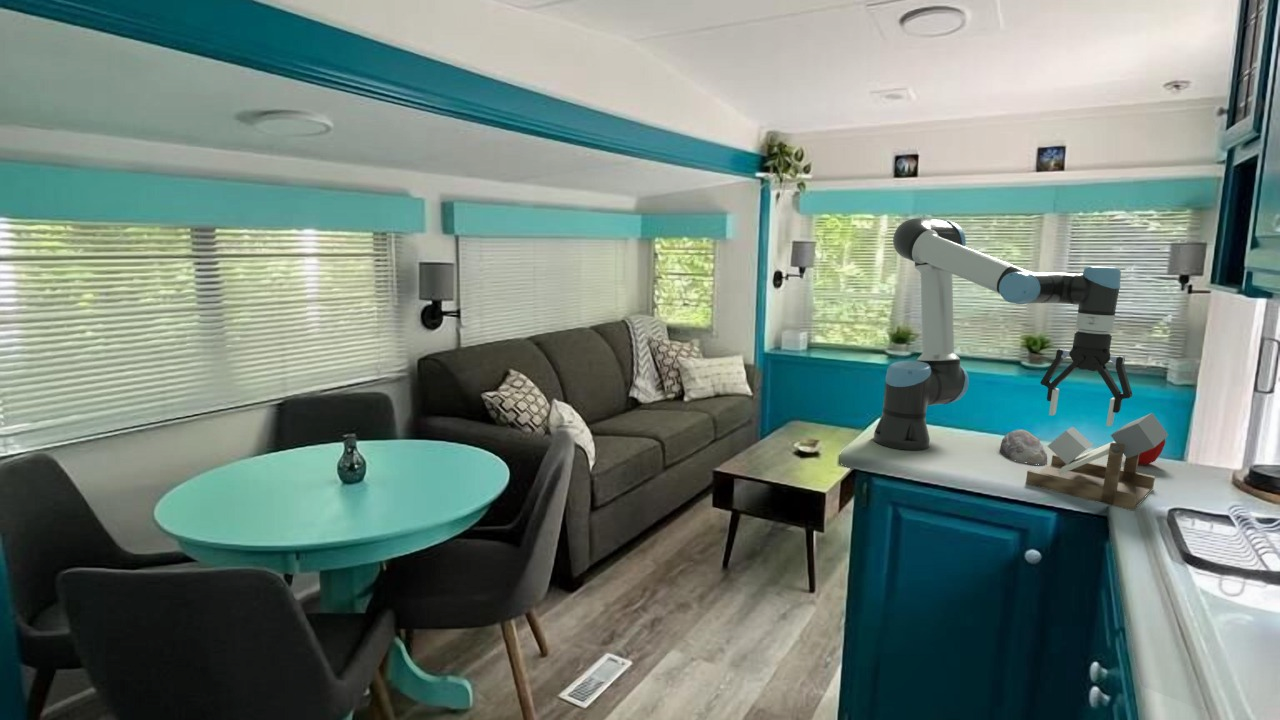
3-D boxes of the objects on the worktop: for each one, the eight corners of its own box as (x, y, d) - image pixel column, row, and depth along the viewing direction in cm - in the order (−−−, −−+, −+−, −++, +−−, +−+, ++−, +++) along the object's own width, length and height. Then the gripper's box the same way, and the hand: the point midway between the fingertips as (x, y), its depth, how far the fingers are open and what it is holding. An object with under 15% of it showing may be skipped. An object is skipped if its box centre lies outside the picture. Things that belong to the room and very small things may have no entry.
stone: (1032, 485, 185) (1064, 463, 183) (1007, 458, 185) (1039, 435, 183) (1010, 466, 202) (1040, 444, 199) (987, 440, 202) (1017, 419, 199)
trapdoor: (1066, 484, 165) (1051, 461, 166) (1086, 468, 177) (1072, 447, 179) (1154, 448, 152) (1136, 424, 153) (1169, 434, 164) (1153, 412, 166)
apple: (1169, 469, 185) (1176, 430, 183) (1133, 467, 185) (1139, 428, 183) (1144, 458, 194) (1151, 420, 193) (1110, 456, 195) (1116, 419, 193)
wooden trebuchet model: (1025, 483, 169) (1033, 428, 167) (1052, 465, 184) (1060, 414, 182) (1133, 510, 154) (1143, 450, 151) (1153, 488, 169) (1162, 433, 166)
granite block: (1066, 464, 169) (1047, 446, 172) (1073, 459, 174) (1054, 441, 176) (1086, 449, 166) (1065, 430, 169) (1093, 444, 170) (1072, 426, 173)
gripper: (1033, 326, 171) (1022, 412, 175) (1150, 339, 154) (1135, 433, 158) (1043, 325, 176) (1031, 407, 180) (1157, 336, 160) (1142, 427, 163)
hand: (1080, 419), depth 169 cm, fingers open, 11 cm apart
